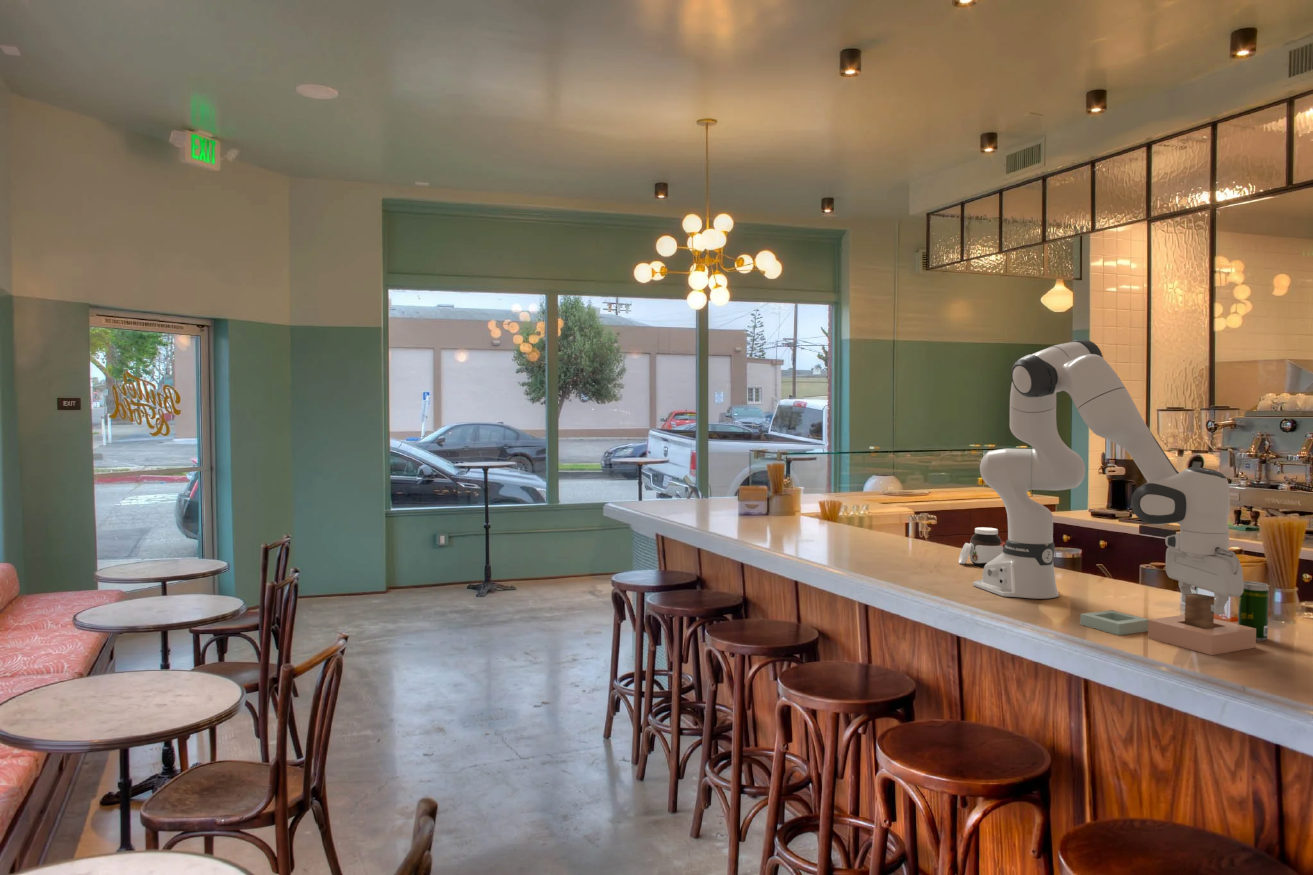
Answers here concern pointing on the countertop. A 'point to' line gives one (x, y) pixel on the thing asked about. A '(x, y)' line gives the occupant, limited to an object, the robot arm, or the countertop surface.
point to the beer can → (1254, 608)
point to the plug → (1199, 611)
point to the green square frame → (1114, 622)
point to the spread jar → (982, 547)
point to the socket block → (1202, 635)
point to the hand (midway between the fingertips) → (1202, 608)
